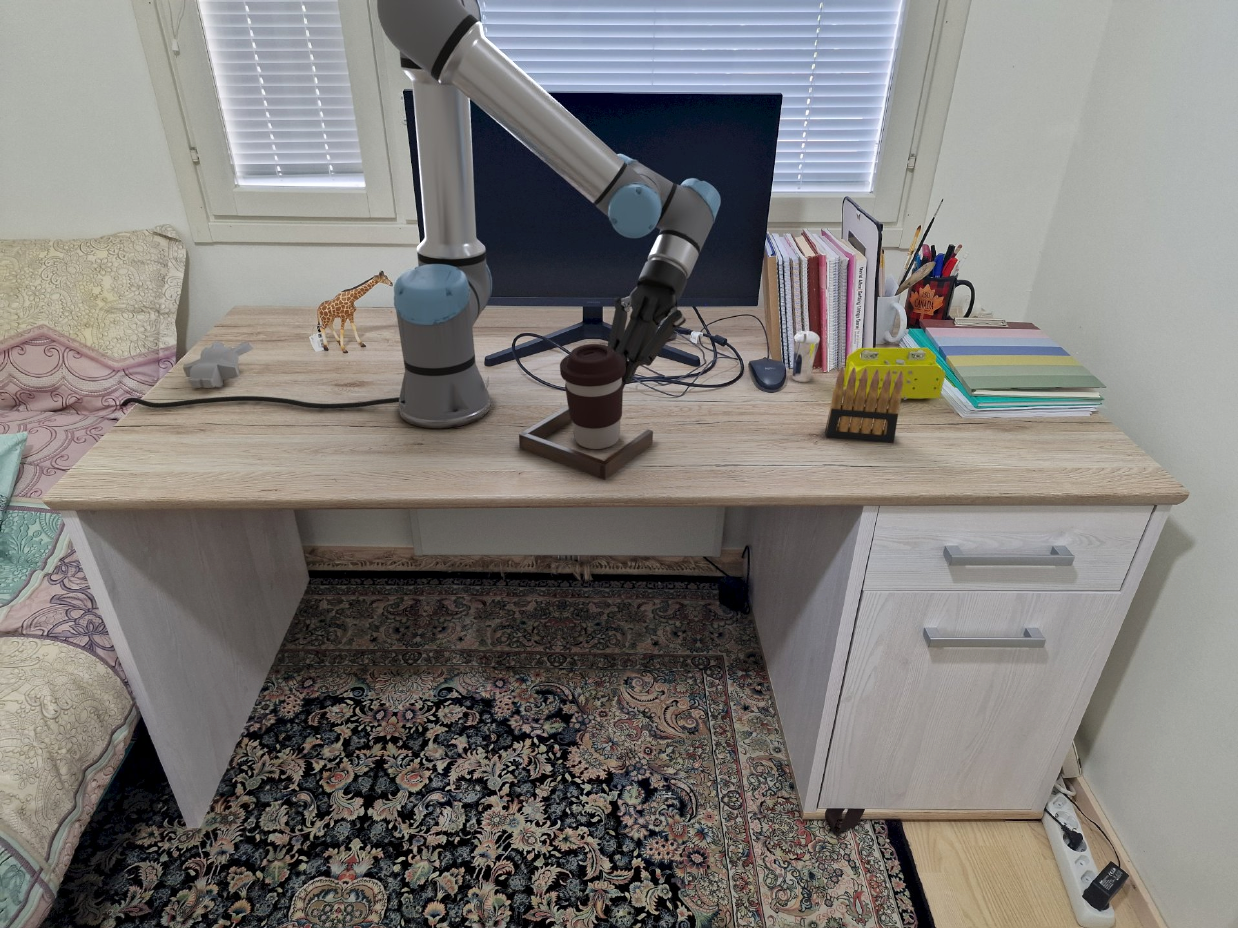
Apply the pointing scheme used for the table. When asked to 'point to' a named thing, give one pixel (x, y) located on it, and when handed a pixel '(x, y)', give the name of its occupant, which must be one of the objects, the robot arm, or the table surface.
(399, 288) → the robot arm
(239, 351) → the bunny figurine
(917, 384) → the yellow toy chassis
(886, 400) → the ammunition clip
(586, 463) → the bay
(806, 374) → the milkshake
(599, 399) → the coffee cup
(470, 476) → the table surface
